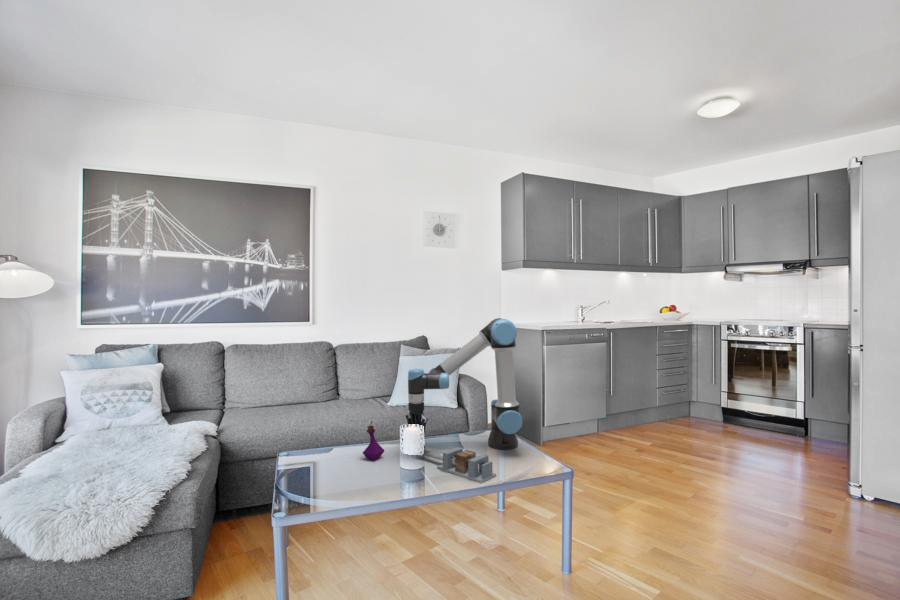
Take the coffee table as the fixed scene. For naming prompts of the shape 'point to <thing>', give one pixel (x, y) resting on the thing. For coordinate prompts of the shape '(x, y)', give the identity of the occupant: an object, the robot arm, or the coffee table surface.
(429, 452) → the shaft
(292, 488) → the coffee table surface
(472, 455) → the spacer
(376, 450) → the perfume bottle
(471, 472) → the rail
